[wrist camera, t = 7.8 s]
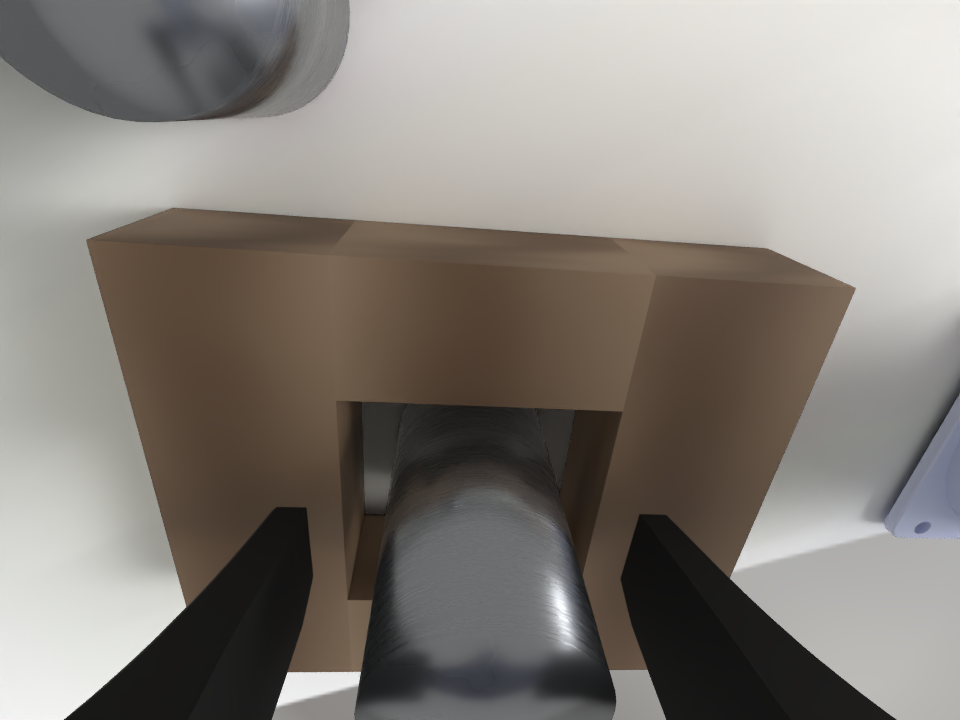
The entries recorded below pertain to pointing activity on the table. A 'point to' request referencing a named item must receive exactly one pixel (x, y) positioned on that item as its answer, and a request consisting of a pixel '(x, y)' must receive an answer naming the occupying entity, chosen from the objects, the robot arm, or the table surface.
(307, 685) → the table surface
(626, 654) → the wooden square frame
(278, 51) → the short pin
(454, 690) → the tall pin
